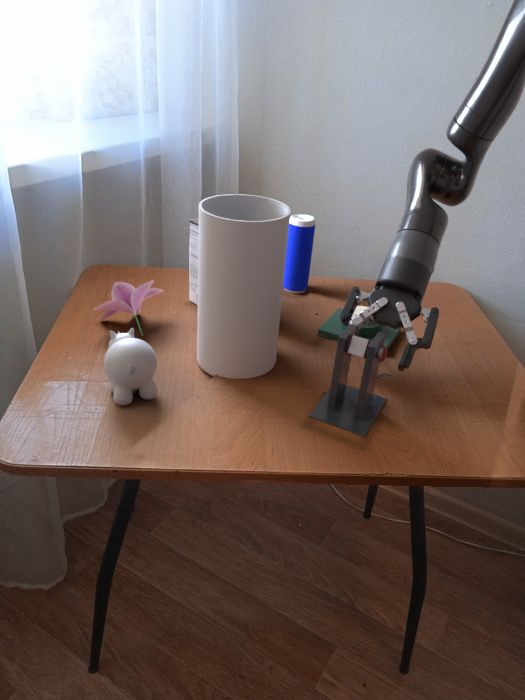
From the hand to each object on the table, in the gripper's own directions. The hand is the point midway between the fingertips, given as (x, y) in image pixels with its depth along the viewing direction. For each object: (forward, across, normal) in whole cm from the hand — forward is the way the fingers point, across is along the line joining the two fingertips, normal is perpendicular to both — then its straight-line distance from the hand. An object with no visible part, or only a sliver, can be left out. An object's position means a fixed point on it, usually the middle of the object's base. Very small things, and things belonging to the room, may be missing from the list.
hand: (373, 360), depth 85 cm
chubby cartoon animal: (+17, -30, -11) cm, 36 cm away
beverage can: (-15, -24, +20) cm, 35 cm away
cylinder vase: (+7, -20, -1) cm, 21 cm away
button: (-9, -6, +9) cm, 14 cm away
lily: (+7, -41, -1) cm, 42 cm away
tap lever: (+2, 0, -5) cm, 6 cm away
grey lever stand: (+9, 0, -4) cm, 10 cm away
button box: (-6, -6, +12) cm, 15 cm away
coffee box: (-5, -34, +11) cm, 36 cm away
